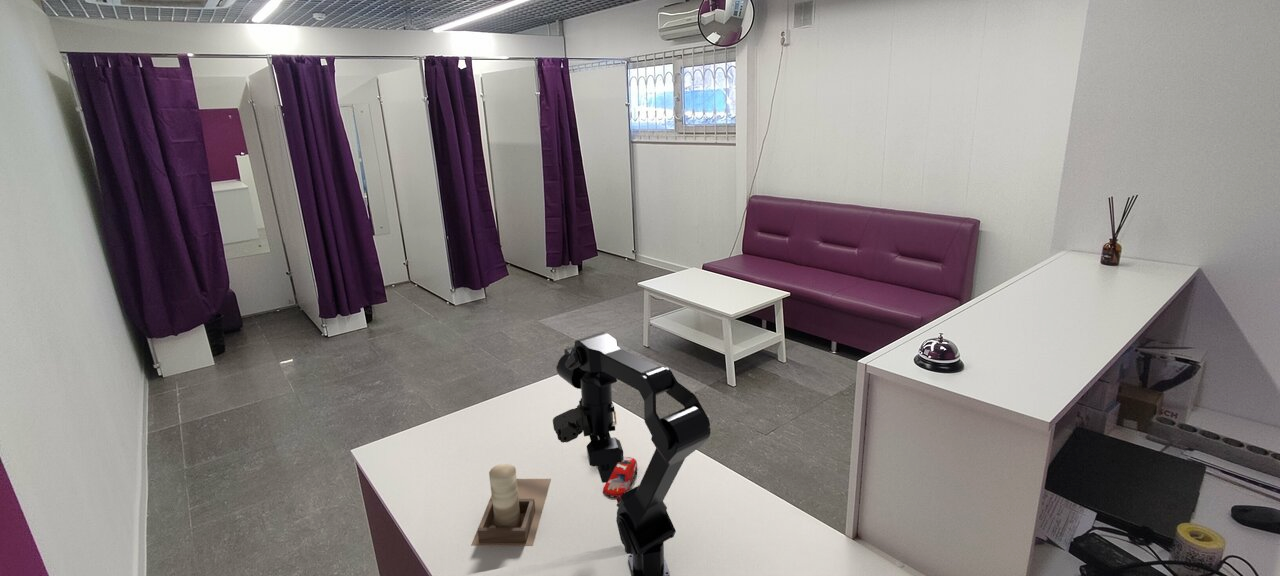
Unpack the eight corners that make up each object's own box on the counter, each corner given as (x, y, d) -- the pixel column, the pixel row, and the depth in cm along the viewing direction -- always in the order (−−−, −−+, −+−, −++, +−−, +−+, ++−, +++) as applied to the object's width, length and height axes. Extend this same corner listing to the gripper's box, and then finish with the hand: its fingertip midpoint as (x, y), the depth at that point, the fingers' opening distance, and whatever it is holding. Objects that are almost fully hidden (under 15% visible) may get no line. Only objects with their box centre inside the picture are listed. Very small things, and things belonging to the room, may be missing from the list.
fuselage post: (521, 533, 115) (515, 477, 111) (495, 537, 114) (488, 481, 110) (520, 516, 120) (515, 462, 115) (495, 520, 119) (489, 465, 114)
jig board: (533, 550, 112) (531, 532, 111) (471, 550, 113) (469, 532, 111) (551, 483, 131) (550, 467, 130) (498, 483, 132) (496, 467, 130)
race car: (623, 506, 124) (622, 490, 122) (599, 501, 125) (598, 486, 124) (641, 468, 136) (640, 453, 134) (619, 464, 137) (618, 450, 136)
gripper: (549, 380, 117) (555, 446, 122) (558, 431, 100) (564, 505, 105) (604, 373, 119) (608, 438, 124) (622, 421, 102) (625, 495, 107)
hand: (600, 467), depth 115 cm, fingers open, 9 cm apart
